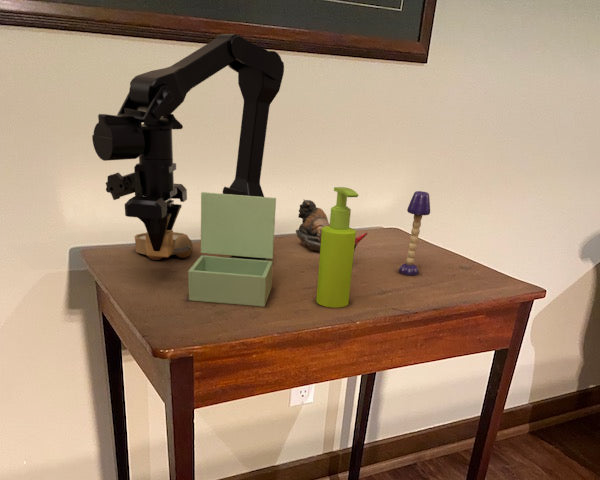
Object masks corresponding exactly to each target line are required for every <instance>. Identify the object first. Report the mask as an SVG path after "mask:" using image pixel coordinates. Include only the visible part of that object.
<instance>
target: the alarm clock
mask: <svg viewBox="0 0 600 480" xmlns="http://www.w3.org/2000/svg"><path fill="white" fill-rule="evenodd" d="M145 233H146V232H142V233H137V234H136V235H134V243H135V252H136V253H138V254H142V255H146V256H147V254H146V236H145ZM173 248H174V252H173V253H172V254H171V255H170V256H174V255H176V257H177V258H181V259H185V258H188V257H189V256H190V255H191V254H192V252H193V243H192V239H190V238H189V235H187V234H186V233H182V232H174V231H173ZM147 257H148V258H149V259H150V260H153V261H159V260H162V259H164V257H159V256H147Z"/></svg>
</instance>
